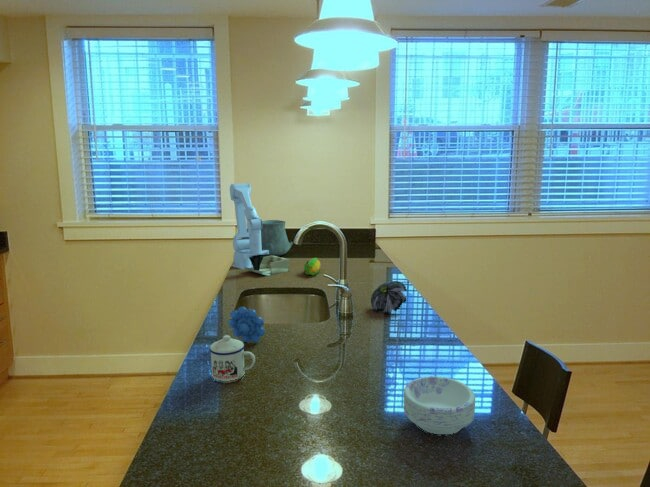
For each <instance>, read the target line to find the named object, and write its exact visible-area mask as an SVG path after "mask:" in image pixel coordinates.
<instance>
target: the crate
mask: <svg viewBox="0 0 650 487" xmlns="http://www.w3.org/2000/svg"><path fill="white" fill-rule="evenodd" d="M259 271H261V272H264V273H268V274H271V275H270V276H273V275H278V274H283V273H286V272H290V259H289V258H284V257H280V256H269V255H266V256H263V260H262V262H261V264H260V269H259Z"/></svg>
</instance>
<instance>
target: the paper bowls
mask: <svg viewBox="0 0 650 487" xmlns="http://www.w3.org/2000/svg"><path fill="white" fill-rule="evenodd" d="M475 395H476V394H475V392H474V391H473V389H472V388H471V387H469V386H468V385H467V384H465V383H463V382H462V381H459V380H456V379H454V378H451V377H450V378H449V377H445V376H433V375H431V376H423V377H421V376H420V377H418V378H415V379H413V380H411V381H409V382H408V383H407V384H406V385H405V387H404V389H403V412H404V414H405V416H406V417H407V419H408V420H410V421H411V422H412V423H413V424H414V425H416V427H418V426H419V427H420V428H422V429H423V430H425V431H427V432H430V433H434V434H451V435H453V433H454V434H457V433H458V432H459V431H460V430H462V429H463V428H465V427H467V426H469V425H471V423H473V421H474V418H475V411H476V396H475ZM419 427H418V428H419ZM420 428H419V429H420ZM423 430H422V431H423ZM425 431H424V432H425ZM427 432H426V433H427Z"/></svg>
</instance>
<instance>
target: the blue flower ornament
mask: <svg viewBox="0 0 650 487" xmlns="http://www.w3.org/2000/svg"><path fill="white" fill-rule="evenodd" d="M230 318H231V319H229V320H228V326H229V327H230V328H232V335H233V336H235V337H236V338H240V337H241V340H242V342H243V343H245V342H249V343H250V342H251V341H252V342H253V343H258V342H260V340H261V337H262V336H265V334H266V331H265V328H264V327H263V326H264V324H265V321H264V319H263V318H262V317H261V316H258V314H257V311H256V310H255V309H252V308H250V309H247V308H246V307H245V306H239V307H238V309H237V310H235V309H234V310H231V312H230Z"/></svg>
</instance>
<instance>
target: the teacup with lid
mask: <svg viewBox="0 0 650 487" xmlns="http://www.w3.org/2000/svg"><path fill="white" fill-rule="evenodd" d="M209 351H210V360H211V362H210V363H211V377H212V376H213V378H214V379H217V380H221V381H230V380H235V379H238V378H241V377H242V376H243V375H244V374H245V372H246V370H250V369H251V368H253V367H254V365H255V363H256V356H255V354H254V353H253V352H251V351H248V350H247V351H245V343H244V341H243V340H242V341H241V340H239V339H236V338H231V336H230V335H229V334H225V335H223V336H222V339H220V340H217V341H214V342H213V343H212V344H210V347H209ZM245 356H249V357H251V363H250V365H249V364H248V365H245ZM244 376H245V375H244ZM213 378H212V379H213Z"/></svg>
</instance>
